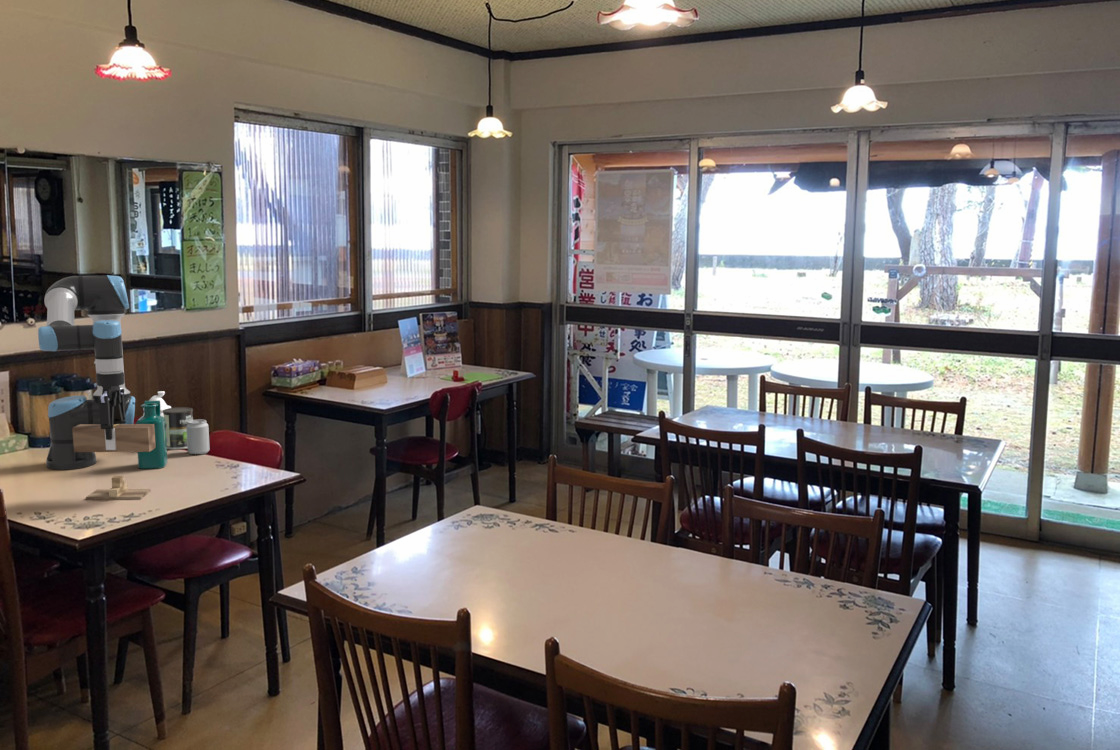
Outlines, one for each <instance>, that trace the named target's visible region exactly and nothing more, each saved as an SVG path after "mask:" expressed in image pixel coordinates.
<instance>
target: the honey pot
mask: <svg viewBox="0 0 1120 750" xmlns="http://www.w3.org/2000/svg"><path fill="white" fill-rule="evenodd" d="M165 394H166V392H165V391H164V390H163V391H162V390H160V391H159V390H158V391H157V394H156V395H153V396H152V397H150V399H149V400H148V401H160V410H161V413H160V416H163V410H165V409H168V408H172V406H171V405H170V404H169V405H168V404H167V403H166V401H165V400H164V399H163V397H164V395H165ZM142 409H143V411H144V408H143V407H142ZM143 416H144V413H143V415H142V416H141V417H143Z"/></svg>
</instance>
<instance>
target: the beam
mask: <svg viewBox="0 0 1120 750" xmlns="http://www.w3.org/2000/svg"><path fill="white" fill-rule="evenodd" d="M113 428H115V437H116V450H106V443H105V429H101V424H80V425H78V426H75V427H73V428H72V431H73V444H74V452H95V453H137V452H150V451H151V450H153V449H155V448H156V447H155V430H154V424H136V423H133V424H113Z"/></svg>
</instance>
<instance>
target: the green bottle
mask: <svg viewBox="0 0 1120 750" xmlns="http://www.w3.org/2000/svg"><path fill="white" fill-rule="evenodd" d="M140 407H141V408H142V409H143V408H144V410H143V414H144V416H143V415H142V416H143V417H142V416H141V417H138V419H137V421H136V422H135V424H154V430H155V447H156V448H155V449H153V450H151V451H150V452H136V453H137V465H138V469H140V470H150V469H151V470H153V469H154V470H155V469H162V468H165V467H166V466H167V464H168V461H169V460H168V449H167V441H166V424H165V418H164V417H163V416H160V413H161V410H160V401H149V400H144V403H143V404H141V405H140Z"/></svg>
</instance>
